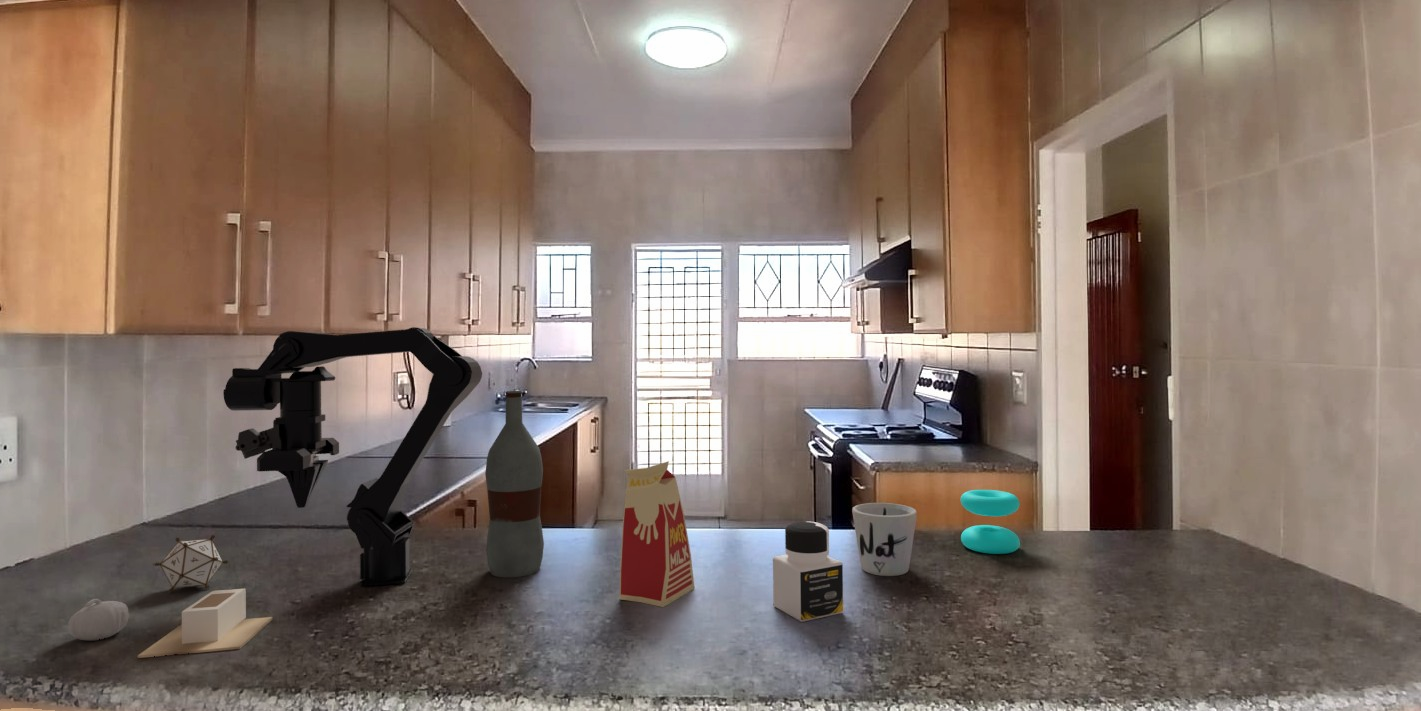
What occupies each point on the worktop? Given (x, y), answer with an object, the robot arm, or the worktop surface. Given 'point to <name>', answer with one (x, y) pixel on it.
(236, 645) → the cork trivet
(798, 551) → the medicine bottle
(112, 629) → the garlic
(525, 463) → the vodka
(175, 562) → the game die
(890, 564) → the mug
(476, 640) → the worktop surface
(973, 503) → the donuts
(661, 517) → the milk carton
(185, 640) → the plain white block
